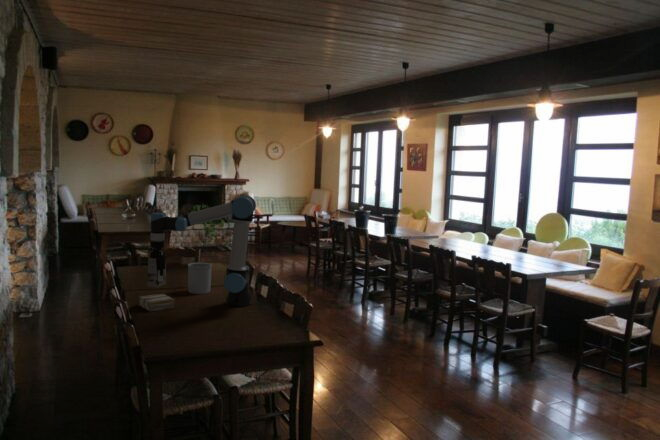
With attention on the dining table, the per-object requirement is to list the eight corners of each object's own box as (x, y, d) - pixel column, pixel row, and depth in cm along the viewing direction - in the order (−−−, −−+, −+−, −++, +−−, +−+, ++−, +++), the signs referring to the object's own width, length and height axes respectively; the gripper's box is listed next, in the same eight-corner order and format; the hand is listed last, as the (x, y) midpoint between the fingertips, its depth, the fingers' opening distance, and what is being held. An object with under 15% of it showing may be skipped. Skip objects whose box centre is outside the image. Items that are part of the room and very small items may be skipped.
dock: (174, 308, 305) (174, 299, 304) (150, 311, 296) (150, 302, 295) (162, 302, 317) (163, 293, 317) (139, 305, 308) (139, 296, 308)
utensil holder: (213, 293, 343) (213, 266, 341) (188, 294, 337) (189, 267, 336) (209, 288, 356) (209, 262, 355) (186, 289, 351) (186, 262, 349)
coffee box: (157, 287, 300) (158, 258, 299) (147, 286, 301) (147, 257, 300) (165, 284, 309) (166, 256, 307) (155, 283, 310) (156, 255, 309)
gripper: (143, 238, 309) (142, 276, 311) (158, 243, 292) (158, 284, 294) (156, 237, 314) (155, 275, 316) (172, 242, 297) (171, 282, 299)
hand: (156, 279), depth 305 cm, fingers closed on coffee box, 10 cm apart
